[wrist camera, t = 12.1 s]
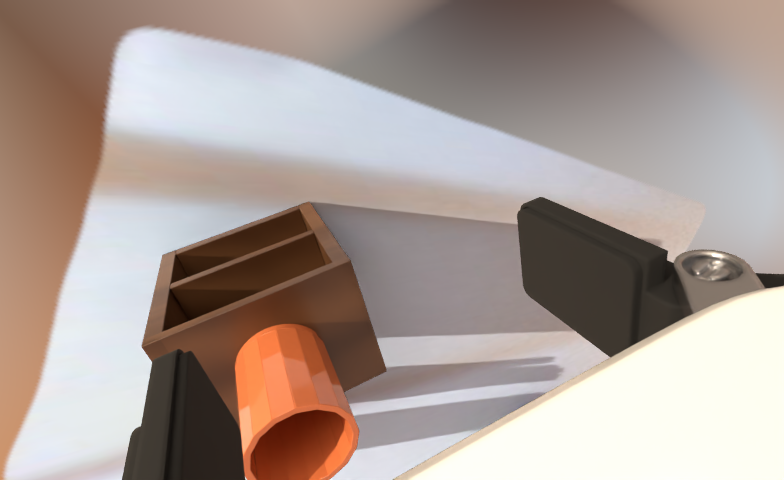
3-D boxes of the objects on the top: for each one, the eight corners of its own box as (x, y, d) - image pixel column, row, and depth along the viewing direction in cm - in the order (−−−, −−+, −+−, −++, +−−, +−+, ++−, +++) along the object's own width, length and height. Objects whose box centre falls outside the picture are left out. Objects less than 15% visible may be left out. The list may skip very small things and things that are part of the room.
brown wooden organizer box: (162, 254, 37) (141, 346, 26) (309, 201, 41) (350, 260, 29) (214, 344, 43) (216, 454, 31) (340, 290, 46) (387, 371, 34)
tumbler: (218, 348, 28) (222, 443, 21) (309, 309, 29) (341, 385, 22) (255, 411, 31) (268, 512, 24) (336, 372, 32) (370, 457, 25)
